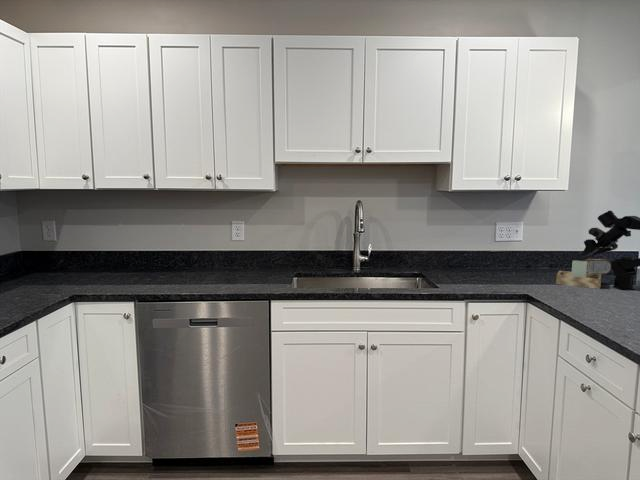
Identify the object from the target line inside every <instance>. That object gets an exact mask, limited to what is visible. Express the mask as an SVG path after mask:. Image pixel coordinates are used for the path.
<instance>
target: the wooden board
mask: <svg viewBox="0 0 640 480" xmlns="http://www.w3.org/2000/svg"><path fill="white" fill-rule="evenodd" d="M571 274H572V271H570V270H569V271H566V270H558V272H557V273H556V277H555V278H556V280H555V285H560V286H562V285H563V286H569V287H571V286H572V287H579V288H587V287H588V289H589V288H590V289H596V288H597V289H598V290H601V282H602V274H590V273H586V278H585V277H575V276H571Z"/></svg>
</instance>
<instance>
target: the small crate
mask: <svg viewBox="0 0 640 480" xmlns="http://www.w3.org/2000/svg"><path fill="white" fill-rule="evenodd" d="M571 264H572V265H571V272H572V274H571V276H575V277H585V278H586V273H587V261H584V260H572V262H571Z"/></svg>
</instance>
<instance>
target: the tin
mask: <svg viewBox="0 0 640 480" xmlns="http://www.w3.org/2000/svg"><path fill="white" fill-rule="evenodd" d="M583 261H587V273H590V274H601V275H608V274H609V273H610V272H612V269H611V263H612V262H610V261H609V260H607V259H605V258H586V259H584V260H583Z"/></svg>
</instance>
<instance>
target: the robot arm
mask: <svg viewBox="0 0 640 480" xmlns="http://www.w3.org/2000/svg"><path fill="white" fill-rule="evenodd" d="M597 220H598V221H599V222H600V224H601V225H602V226H603V227H604V228H606V229H607V228H608V229H609V230H608V231H606V232H605V231H603V230H602V228H601V229H600V228H599V227H591V228H589V229H588V234H589V235H591V236H593V237H594V239H591V238H590V239H585V240H584V241H583V244H584V246H585V248H584V249H583V251H582V253H581V256H582V257H586V256H588V255H592V254H593V256H596V255H600V254H604V253H607V252H612V251H615V250H616V249H618V246H619V245H618V242H619V239H621V238H622V237H623V236H624V237H626V238H628V237H631V236H632V234H631V233H632V231H631V230H637V231H640V217H639V216H636V215H626V216H623V217H618V216H617V215H616V214H615V213H614V211H612V210H607V211H606V212H604V213H602V214H599V216H598V217H597ZM610 263H611V271H612V273H613V276H614V277H615V278H614V279H613V280H614V282H613V285H612V287H613V288H614V289H615V288H616V289H619V290H622V291H626V290H627V291H630V290H631V291H635V290H636V288H634V278H635V276H636V274H637V273H638V271H637V270H636V268H640V257H637V258H633V256H631V255H630V256H624V257H618V258H614V260H612V261H611V262H610Z"/></svg>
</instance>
